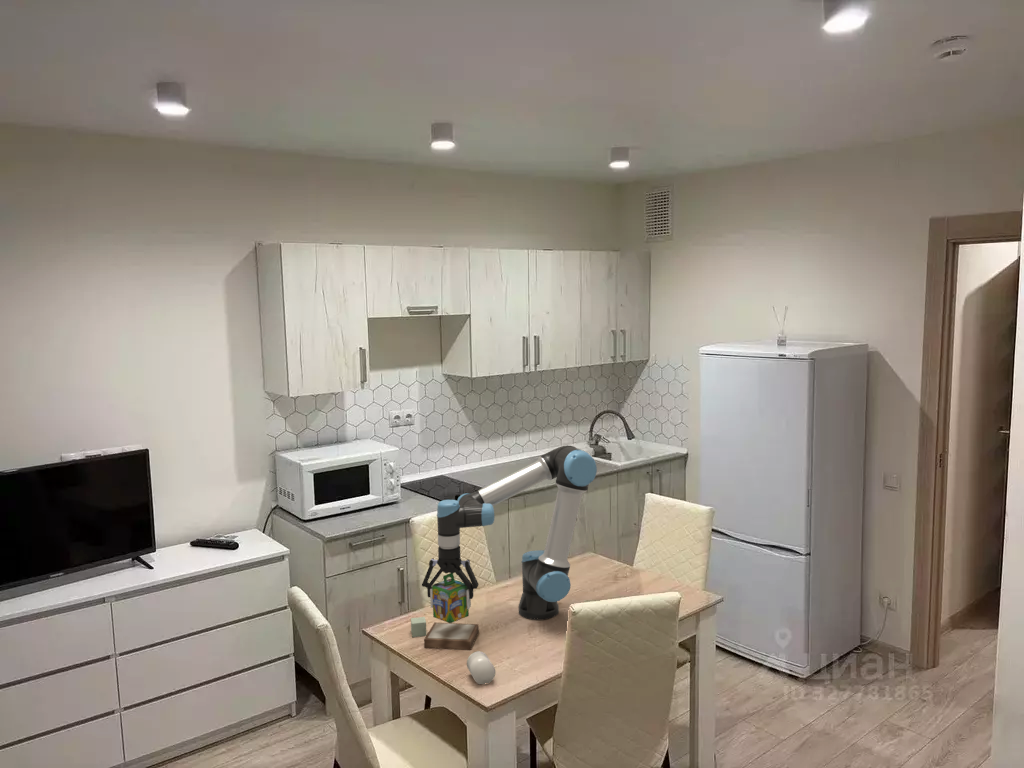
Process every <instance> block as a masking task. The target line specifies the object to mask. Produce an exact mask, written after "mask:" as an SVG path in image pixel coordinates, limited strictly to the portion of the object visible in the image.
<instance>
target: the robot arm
mask: <svg viewBox="0 0 1024 768" xmlns="http://www.w3.org/2000/svg"><path fill="white" fill-rule="evenodd" d="M597 470H598V467H597V464H596V461H595V459H594V458H593V457H592V456H591V455H590V454H589V453H588V452H587V451H584V450H582V449H581V448H580V449H579V448H578V447H575V446H573V445H561V446H559V447H556V448H554V449H552V450H550V451H548V452H546V453H544V454H542V455H540V456H538V458H537V460H536V461H533V462H532V463H530V464H528V465H526V466H524V467H522V468H520V469H518V470H516V471H515V472H511V473H510V474H507V475H506V476H505V477H502V478H501V479H499V480H496V481H494V482H492V483H490V484H489V485H486V486H483V487H482V488H480V489H478V490H476V491H474V492H472V493H462V494H461V495H460V496H458V498H457V500H456V499H443V500H441V501H439V502H438V504H437V508H436V509H437V512H436V519H437V546H438V547H437V552H438V553H437V554H438V555H437V556H438V558H437V559H434V558H431V559H430V560H429V561H428V562H429V563H428V569H427V571H426V574H425V576H424V579H423V581H422V583H421V586H422V587H424V588H426V589H427V591H426V593H427V597H428V598H430V608H431V609H433V588H432V585H434V584H435V582H436V581H437V580H438V579H439V577H440V576H441V574H442V573H445V574H450V573H453V574H454V573H455V575H456V576H458V577H459V579H460V580H461V582H462V583H464V584H465V585H466V586H467V588H468V589H467V609H469V610H470V609H471V606H472V602H471V600H473V598H474V590H475V589H478V587H479V586H480V585H479V582H478V580H477V578H476V575H475V574H474V571H473V569H472V566H471V560H470V559H466V560H462V558H461V546H460V544H461V529H463V528H476V527H486V526H491V525H493V524H494V522H495V509H494V508H495V507H494V506H496V505H499V504H500V503H501V502H504V501H506V500H508V499H510V498H512V497H514V496H515V495H518V494H520V493H522V492H524V491H525V490H528V489H530V488H532V487H534V486H536V485H537V484H540V483H542V482H543V481H545V480H548V481H552V480H553V479H554V480H555V485H556V486H557V489H558V490H557V493H556V497H555V503H554V507H553V511H552V516H551V519H550V524H549V529H548V533H547V538H546V543H545V545H544V546H545V547H544V550H542V549H540V550H538V549H537V550H529V551H527V552H524V553H523V554H522V557H521V558H522V559H521V568H522V569H521V570H522V571H521V572H522V574H521V575H522V593H521V597H520V600H519V603H518V614H519V616H521V617H523V618H525V619H529V620H534V621H535V620H536V621H540V620H547V619H548V620H549V619H552V618H554V617H556V616H557V615H558V614H559V611H560V609H559V607H560V606H559V603H558V602H559V601H561V600H563V599H564V598H565V597H567V596H568V594H569V593H570V589H571V584H572V583H571V578H570V577H569V573H570V568H571V564H570V562H569V560H568V558H569V553H570V549H571V545H572V540H573V537H574V530H575V526H576V522H577V517H578V513H579V508H580V505H581V501H582V496H583V494H584V493H586V492H588V489H589V486H590V484H591V483H592V482H593V481H594V480H595V478H596V475H597ZM436 565H438V567H439V569H438V571H437V572H436V574H435V575H434V577H432V579H431V581H430V582H429V579H430V577H431V574H432V573H433V570H434V567H435V566H436ZM461 565H462V566H463V568H465V572H466V573H467V576H468V577H467V576H466V574H465V572H464V571H463V570H462V568H461Z"/></svg>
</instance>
